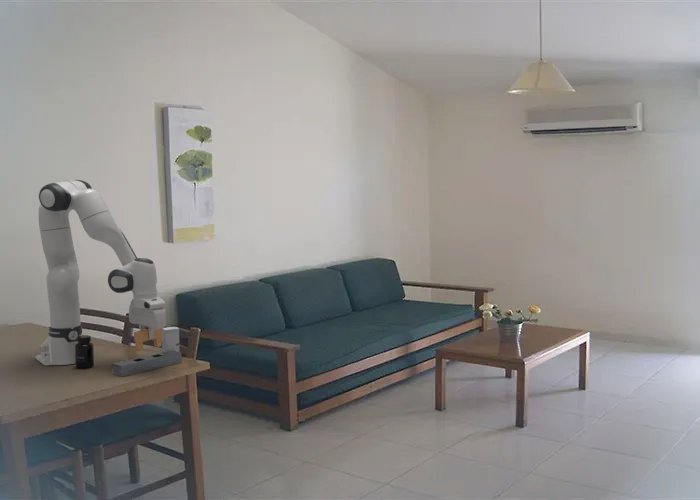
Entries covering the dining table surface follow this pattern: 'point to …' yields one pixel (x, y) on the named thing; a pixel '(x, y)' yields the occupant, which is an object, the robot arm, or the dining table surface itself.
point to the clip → (143, 336)
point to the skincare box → (170, 339)
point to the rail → (146, 363)
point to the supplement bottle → (84, 352)
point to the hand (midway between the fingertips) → (147, 337)
